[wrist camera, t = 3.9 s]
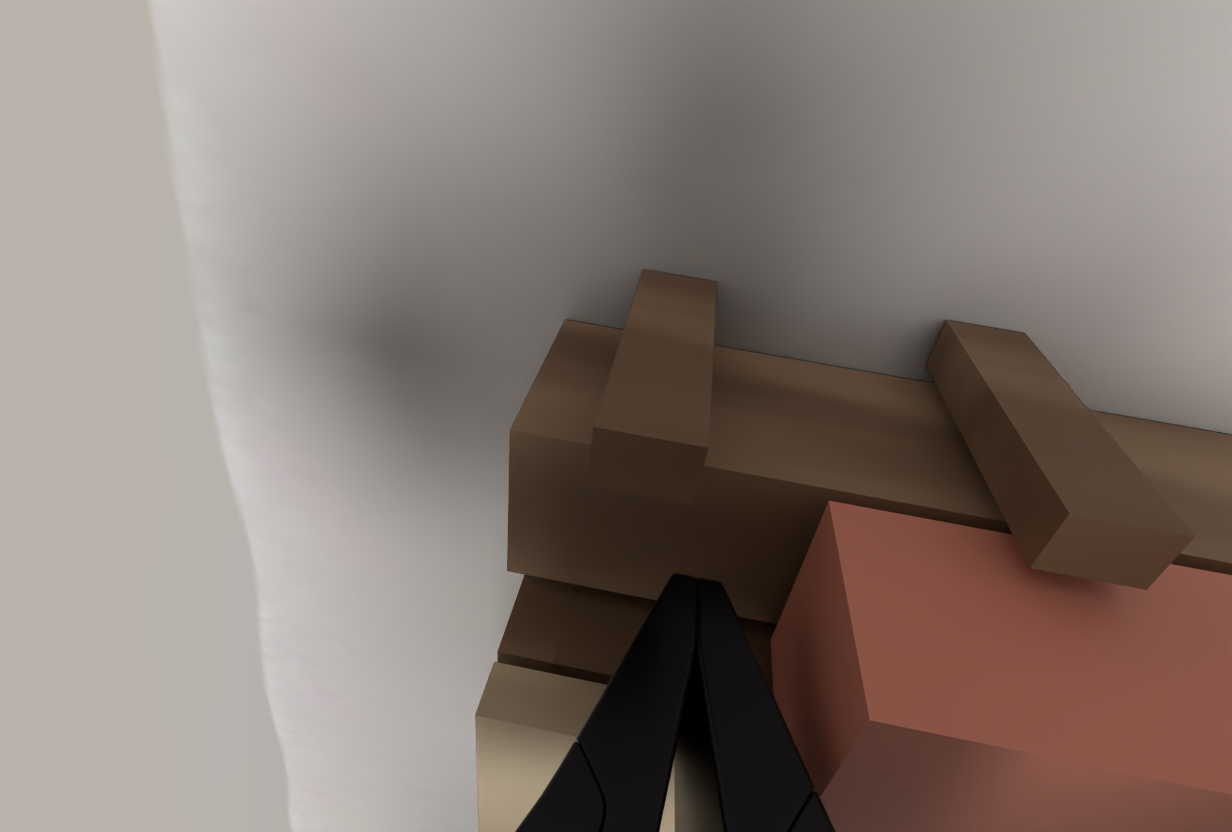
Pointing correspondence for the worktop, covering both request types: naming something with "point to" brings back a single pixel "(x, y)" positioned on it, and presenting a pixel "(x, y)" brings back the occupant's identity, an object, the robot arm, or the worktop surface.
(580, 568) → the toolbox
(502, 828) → the lid
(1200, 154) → the worktop surface
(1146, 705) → the pink rectangular block
